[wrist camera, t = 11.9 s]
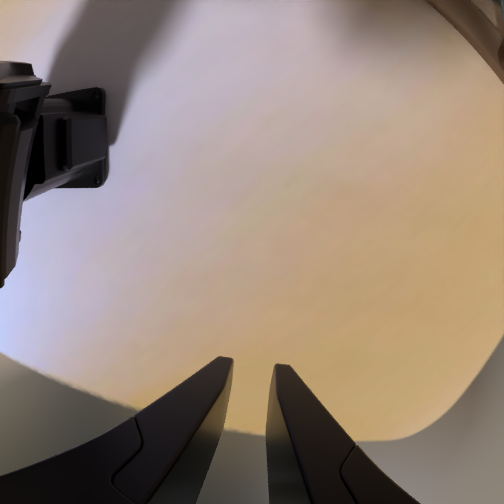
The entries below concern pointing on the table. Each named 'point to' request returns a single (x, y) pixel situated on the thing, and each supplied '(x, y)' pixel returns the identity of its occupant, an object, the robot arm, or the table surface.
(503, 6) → the panel
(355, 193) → the table surface
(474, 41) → the brown l-shaped piece
